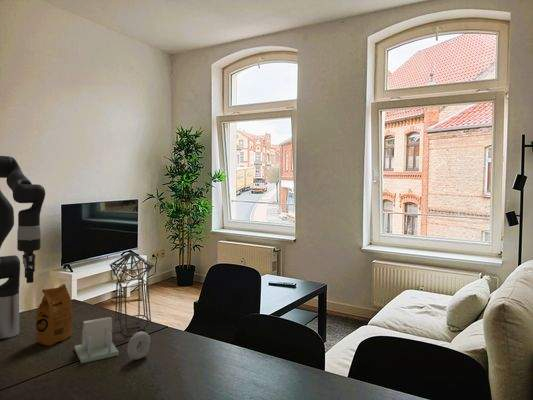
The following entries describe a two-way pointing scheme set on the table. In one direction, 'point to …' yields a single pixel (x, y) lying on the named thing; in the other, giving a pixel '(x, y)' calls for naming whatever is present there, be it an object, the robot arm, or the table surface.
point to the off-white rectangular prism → (97, 331)
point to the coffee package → (54, 316)
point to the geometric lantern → (131, 286)
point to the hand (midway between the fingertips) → (29, 280)
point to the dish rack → (95, 349)
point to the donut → (134, 342)
